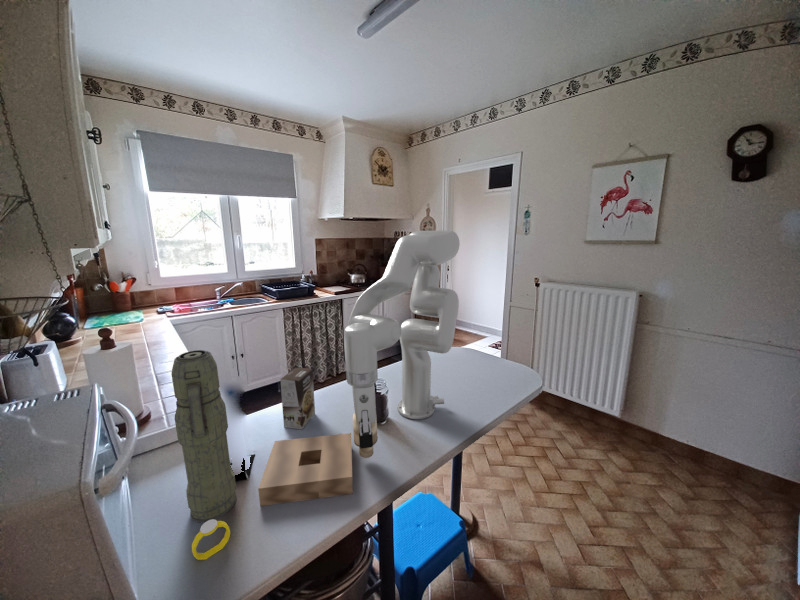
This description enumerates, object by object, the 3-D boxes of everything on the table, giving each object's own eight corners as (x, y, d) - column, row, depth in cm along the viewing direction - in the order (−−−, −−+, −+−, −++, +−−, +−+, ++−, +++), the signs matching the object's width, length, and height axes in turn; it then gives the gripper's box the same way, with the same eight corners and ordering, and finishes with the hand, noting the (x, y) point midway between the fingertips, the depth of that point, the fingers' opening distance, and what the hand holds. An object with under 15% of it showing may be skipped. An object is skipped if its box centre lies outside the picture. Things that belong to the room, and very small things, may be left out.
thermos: (191, 537, 60) (163, 370, 53) (189, 496, 70) (165, 350, 63) (241, 514, 65) (222, 359, 58) (233, 479, 75) (215, 341, 68)
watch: (198, 569, 55) (190, 544, 53) (193, 558, 57) (186, 533, 55) (233, 544, 59) (228, 519, 57) (228, 534, 61) (223, 510, 59)
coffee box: (302, 430, 94) (298, 380, 91) (283, 427, 95) (279, 379, 92) (316, 413, 103) (313, 368, 99) (298, 411, 104) (295, 366, 101)
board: (351, 447, 86) (351, 433, 85) (352, 493, 71) (352, 476, 70) (276, 455, 83) (274, 441, 82) (260, 506, 67) (258, 488, 66)
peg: (377, 443, 84) (375, 407, 81) (379, 459, 78) (377, 421, 75) (354, 446, 83) (352, 410, 80) (355, 463, 77) (352, 424, 74)
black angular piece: (231, 456, 84) (229, 441, 83) (260, 451, 85) (259, 436, 85) (218, 492, 72) (216, 474, 71) (252, 485, 74) (250, 468, 73)
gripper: (381, 390, 67) (383, 460, 72) (374, 358, 84) (376, 416, 88) (346, 394, 66) (351, 465, 70) (346, 360, 83) (350, 419, 87)
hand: (365, 437), depth 79 cm, fingers closed on peg, 6 cm apart
